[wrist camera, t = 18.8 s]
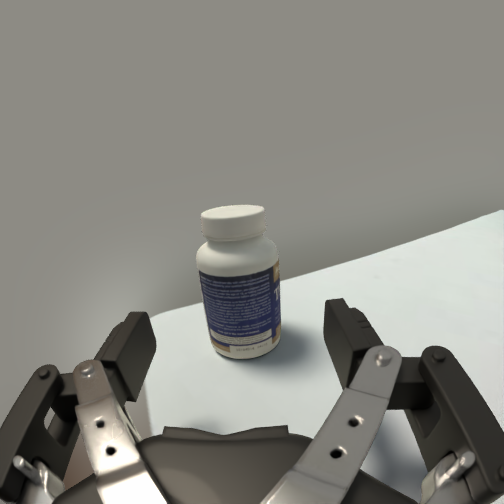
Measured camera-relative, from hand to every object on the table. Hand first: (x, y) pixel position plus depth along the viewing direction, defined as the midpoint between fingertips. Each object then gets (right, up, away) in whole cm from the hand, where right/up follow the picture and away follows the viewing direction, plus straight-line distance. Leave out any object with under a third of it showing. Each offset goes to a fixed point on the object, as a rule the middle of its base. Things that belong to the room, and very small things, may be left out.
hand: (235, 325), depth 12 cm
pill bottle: (0, -4, +9) cm, 9 cm away
